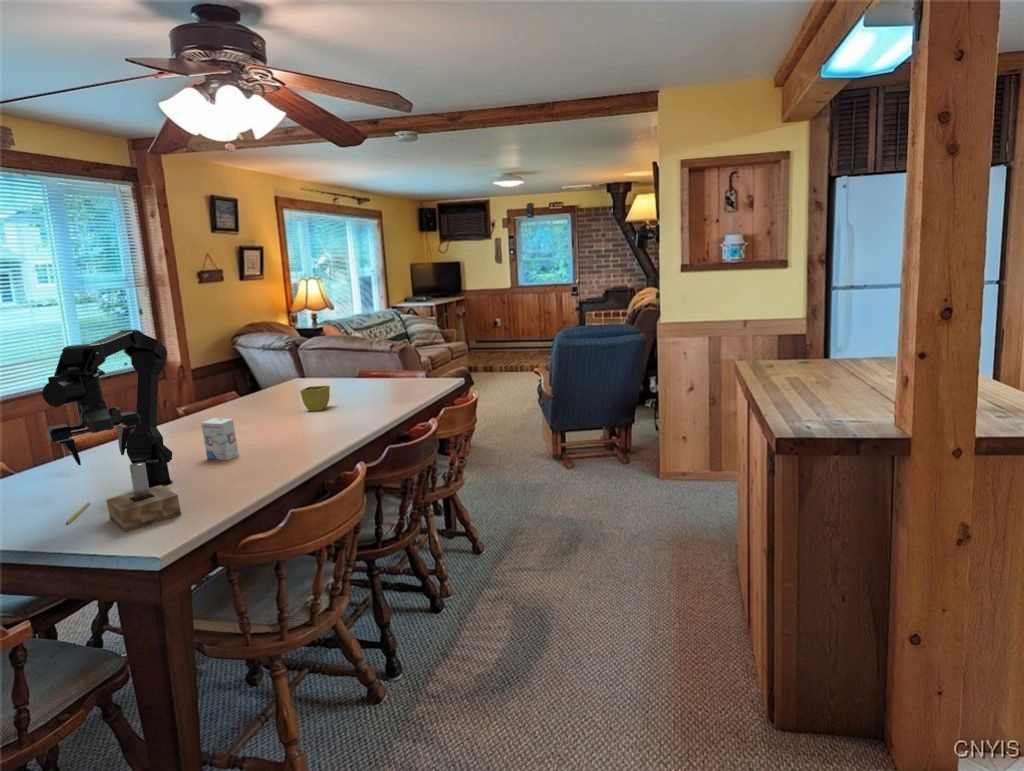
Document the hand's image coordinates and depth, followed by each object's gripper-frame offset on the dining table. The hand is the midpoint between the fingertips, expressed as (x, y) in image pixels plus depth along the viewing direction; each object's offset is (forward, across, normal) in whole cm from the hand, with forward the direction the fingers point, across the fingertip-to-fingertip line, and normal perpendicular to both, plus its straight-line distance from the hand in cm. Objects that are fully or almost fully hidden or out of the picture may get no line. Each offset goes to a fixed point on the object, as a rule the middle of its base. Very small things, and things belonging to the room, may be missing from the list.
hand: (101, 459), depth 159 cm
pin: (+12, +4, -13) cm, 18 cm away
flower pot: (+13, +87, +56) cm, 104 cm away
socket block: (+13, +4, -13) cm, 19 cm away
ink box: (+13, +36, +22) cm, 44 cm away
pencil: (+14, -6, +4) cm, 16 cm away
